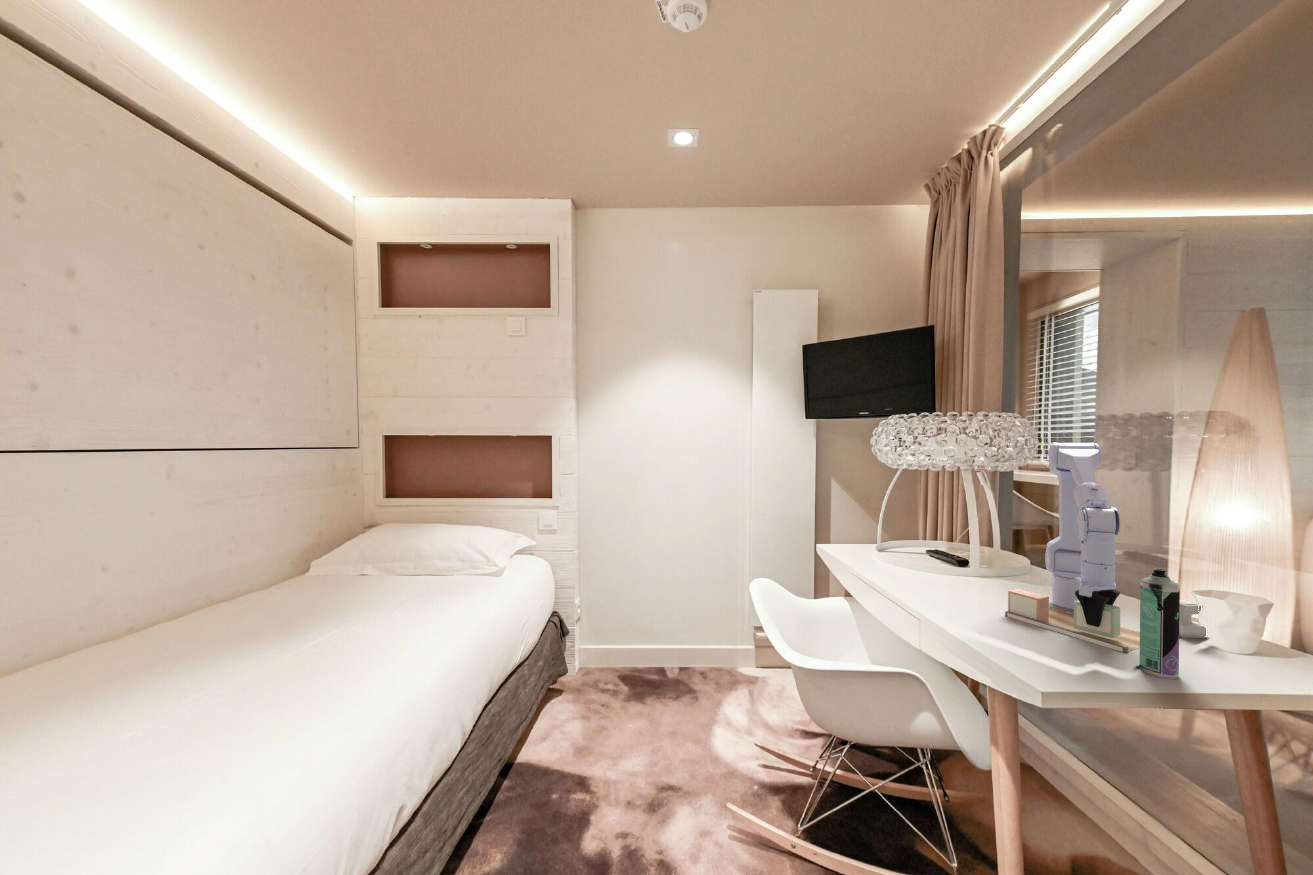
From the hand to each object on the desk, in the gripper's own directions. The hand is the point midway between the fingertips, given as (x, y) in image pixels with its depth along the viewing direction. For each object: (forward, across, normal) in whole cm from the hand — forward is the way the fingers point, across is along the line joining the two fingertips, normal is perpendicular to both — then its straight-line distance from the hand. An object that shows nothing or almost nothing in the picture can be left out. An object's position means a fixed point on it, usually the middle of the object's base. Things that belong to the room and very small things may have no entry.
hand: (1097, 623), depth 115 cm
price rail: (+4, +3, -6) cm, 8 cm away
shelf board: (+4, -5, -4) cm, 8 cm away
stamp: (+4, -19, +10) cm, 22 cm away
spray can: (+4, +8, +12) cm, 15 cm away
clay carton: (+3, 0, -14) cm, 14 cm away
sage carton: (+2, 0, 0) cm, 2 cm away
